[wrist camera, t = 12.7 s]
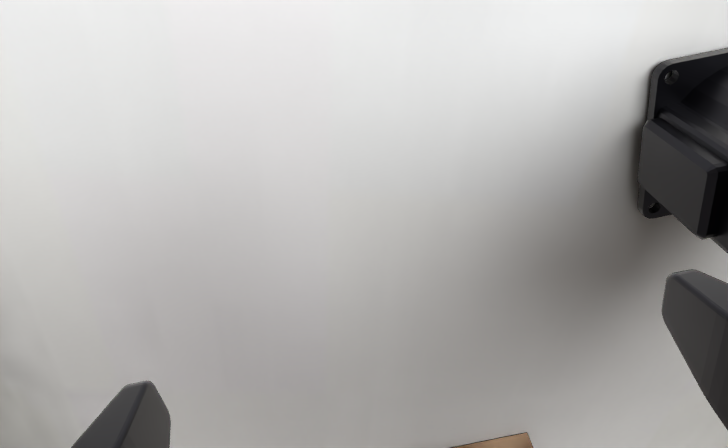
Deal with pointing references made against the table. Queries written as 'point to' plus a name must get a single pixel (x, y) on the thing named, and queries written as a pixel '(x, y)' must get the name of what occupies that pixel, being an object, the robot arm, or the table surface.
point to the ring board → (503, 442)
